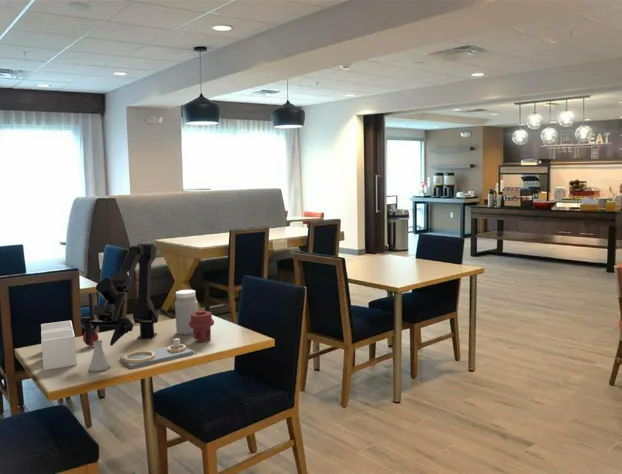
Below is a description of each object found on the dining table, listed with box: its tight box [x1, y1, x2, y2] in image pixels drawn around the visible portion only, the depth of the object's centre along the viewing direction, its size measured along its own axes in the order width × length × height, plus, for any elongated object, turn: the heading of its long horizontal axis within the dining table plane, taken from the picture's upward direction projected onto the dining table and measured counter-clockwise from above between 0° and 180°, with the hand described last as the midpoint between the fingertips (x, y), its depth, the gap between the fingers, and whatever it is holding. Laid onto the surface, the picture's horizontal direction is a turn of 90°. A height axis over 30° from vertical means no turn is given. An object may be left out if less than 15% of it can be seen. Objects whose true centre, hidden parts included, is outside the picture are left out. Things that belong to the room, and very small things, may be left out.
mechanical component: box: [189, 309, 215, 344], centre depth 230 cm, size 12×10×10 cm
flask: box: [88, 339, 111, 373], centre depth 201 cm, size 7×7×10 cm
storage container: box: [40, 320, 78, 371], centre depth 214 cm, size 25×11×11 cm, turn 26°
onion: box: [82, 331, 99, 347], centre depth 227 cm, size 6×6×8 cm
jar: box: [174, 289, 199, 336], centre depth 242 cm, size 10×10×18 cm
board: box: [119, 338, 194, 370], centre depth 212 cm, size 24×12×5 cm, turn 127°
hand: (98, 344), depth 201 cm, fingers open, 9 cm apart
